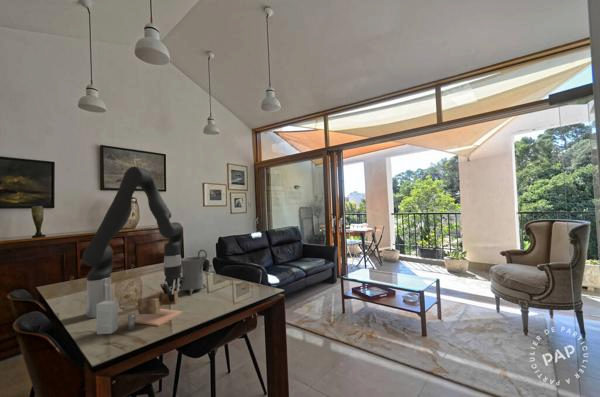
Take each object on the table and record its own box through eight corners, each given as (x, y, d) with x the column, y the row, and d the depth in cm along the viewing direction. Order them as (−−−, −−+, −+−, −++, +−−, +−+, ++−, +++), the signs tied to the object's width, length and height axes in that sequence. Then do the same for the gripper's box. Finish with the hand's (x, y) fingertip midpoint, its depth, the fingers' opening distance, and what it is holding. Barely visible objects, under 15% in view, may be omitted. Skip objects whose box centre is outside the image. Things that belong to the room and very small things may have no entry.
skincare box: (118, 329, 110) (118, 300, 110) (111, 334, 106) (111, 304, 106) (103, 329, 110) (103, 300, 110) (96, 334, 106) (95, 304, 106)
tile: (132, 322, 116) (132, 320, 116) (158, 310, 130) (158, 308, 130) (158, 326, 112) (158, 324, 112) (182, 312, 125) (182, 311, 125)
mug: (172, 294, 153) (171, 251, 154) (189, 286, 168) (188, 247, 168) (199, 296, 148) (198, 251, 149) (215, 288, 162) (214, 247, 163)
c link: (138, 314, 116) (137, 300, 116) (162, 303, 128) (161, 291, 129) (156, 313, 113) (154, 299, 113) (178, 302, 125) (177, 290, 126)
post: (126, 330, 109) (126, 315, 109) (132, 327, 111) (131, 313, 111) (131, 330, 108) (130, 316, 108) (136, 328, 110) (136, 313, 110)
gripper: (177, 261, 133) (178, 295, 133) (154, 267, 120) (155, 305, 120) (189, 261, 131) (190, 296, 131) (167, 268, 118) (168, 307, 117)
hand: (173, 300), depth 125 cm, fingers closed on c link
